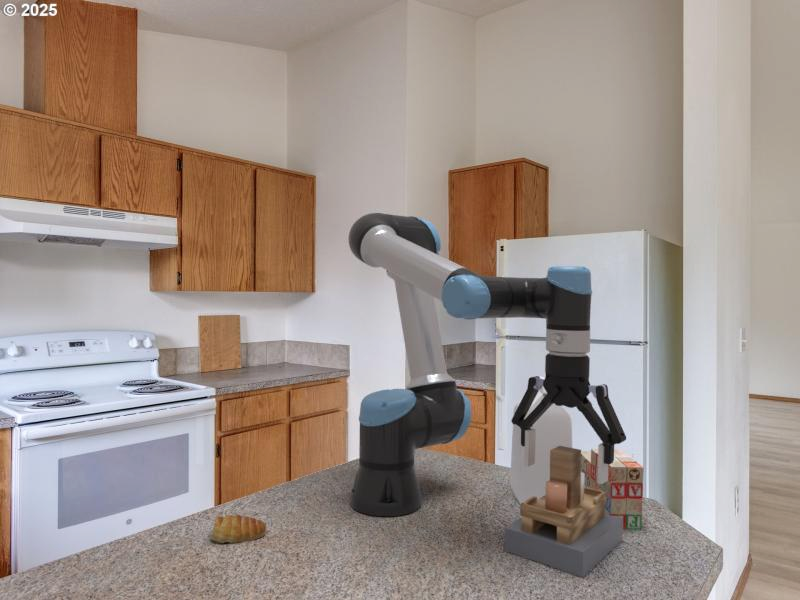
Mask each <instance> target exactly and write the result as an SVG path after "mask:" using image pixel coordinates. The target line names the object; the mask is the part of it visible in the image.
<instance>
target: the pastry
mask: <svg viewBox="0 0 800 600" xmlns="http://www.w3.org/2000/svg"><path fill="white" fill-rule="evenodd" d="M266 533H267V524H266V522H264V521H262V520H260V519H256V518H255V517H250V516H245V515H240V514H239V513H238V514H235V515H232V514H226V515H225V516H221V515H217V516H216V517H215V519H214V523H213V529H212V533H211V537H210V539H211V540H212V541H214V542H215V543H218V544H225V543H229V544H236V543H244V542H245V543H246V542H250V541H254V540H257V539H259V538H263V536H265V535H266Z"/></svg>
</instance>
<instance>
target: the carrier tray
mask: <svg viewBox="0 0 800 600" xmlns="http://www.w3.org/2000/svg"><path fill="white" fill-rule="evenodd" d="M581 451H582V449H579V448H574V447H572V448H569V447H564V446H558V447H556V448H554V449H552V450H550V480H557V481H562V482H565V483H567V512H566V513H563V514H561V513H557V512H554V511H550V510H546V509H545V495H544V496H543V497H541V498H539V499H538V500H537V497H535V496H533V497H531V498H530V499H528V500H526V501H524V502H523V503H521V504H519V505H520V507H519V514H520V515H519V516H521V518H522V531H525V532H528V533H532V534H533V533H534V532H536V531H537V530H538V529H540V528H541V527H543V526H544V525H546V524H547V523H548V524H551V525H555V526H557V542H561V543H564V544H567V545H569V544H570V543H571V542H573V541H574V540H575V539H576V538H578V537H579V536H580V535H582V534H583V533H584V532H585V531H587V530H588V529H589V528H590V527H592V526H593V525H594V524H596V523H597V522H598V521H599V520H601V519H602V518H603V517H604V516H605V504H606V503H607V492H605V491H600V490H596V489H592V488H587V487H584V500H583V501H580V495H581Z"/></svg>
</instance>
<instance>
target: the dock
mask: <svg viewBox="0 0 800 600" xmlns="http://www.w3.org/2000/svg"><path fill="white" fill-rule="evenodd" d="M623 531H624V529H623V519H622V518H618V517H615V516H611V515H607V514H605V516H604V517H603V518H602V519H601V520H599V521H598V522H597V523H596V524H594V525H593V526H592V527H590V528H589V529H588V530H587V531H585V532H584V533H583V534H582V535H580V536H579V537H578V538H576V539H575V540H574V541H573V542H571V543H570V544H569V545H567V544H564V543H561V542H557V526H555V525H551V524H548V523H547V524H546V525H544V526H543V527H541V528H540V529H538V530H537V531H536V532H534V533H533V534H532V533H528V532H525V531H522V517H520V518H519V519H516V520H514V521H513V522H512V523H510V524H508V525H507V526H505V527H504V539H503V540H504V545H503V548H504V550H505V551H504V550H503V551H504V552H506V551H508V552H507V553H509V552H510V554H512V553H514V554H513V555H515V554H517V555H516V556H518V555H520V556H519V557H521V556H523V557H522V558H524V557H526V558H525V559H527V558H529V559H528V560H530V559H532V560H531V561H533V560H535V561H534V562H536V561H537V563H539V562H540V563H539V564H541V563H543V564H542V565H544V564H546V565H545V566H547V565H549V566H548V567H550V566H551V568H553V567H554V569H556V568H557V570H559V571H563V572H565V573H568V574H571V575H574V576H576V577H579V576H580V578H584V577H586V576H587V574H589V573H590V572H591V571H592V570H593V569H594V568H595V567H596V566H597V565H598V564H599V563H600V562H601V561H602V560H604V558H606V557H607V556H608V555H607V554H608V553H609V554H610V553H611V552H612V551H613V550H614V549H615V548H616V547H617V546H618V545H619V544H621V542H623ZM610 551H611V552H610ZM595 565H596V566H595ZM593 567H594V568H593ZM592 568H593V569H592ZM591 569H592V570H591ZM590 570H591V571H590ZM589 571H590V572H589Z"/></svg>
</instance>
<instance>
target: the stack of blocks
mask: <svg viewBox="0 0 800 600" xmlns="http://www.w3.org/2000/svg"><path fill="white" fill-rule="evenodd" d="M581 472H583V473H584V474H585V482H584V487H587V488H592V489H596V490H600V491H605V492H607V503H606V504H605V514H607V515H611V516H615V517H618V518H622V519H623V530H638V531H639V530H640V531H642V528H643V498H644V466H642V465H641V464H640V463H638V461H637V460H636V459H634V458H633V457H631V456H630V455H628V454H627V453H625V452H624V451H623V450H621V449H620V448H614V461H613V463H611V464H610V465H609V464H608V481H606V482H605V483H603V484H599V483H598V448H591V449H590V451H588V450H581Z"/></svg>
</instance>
